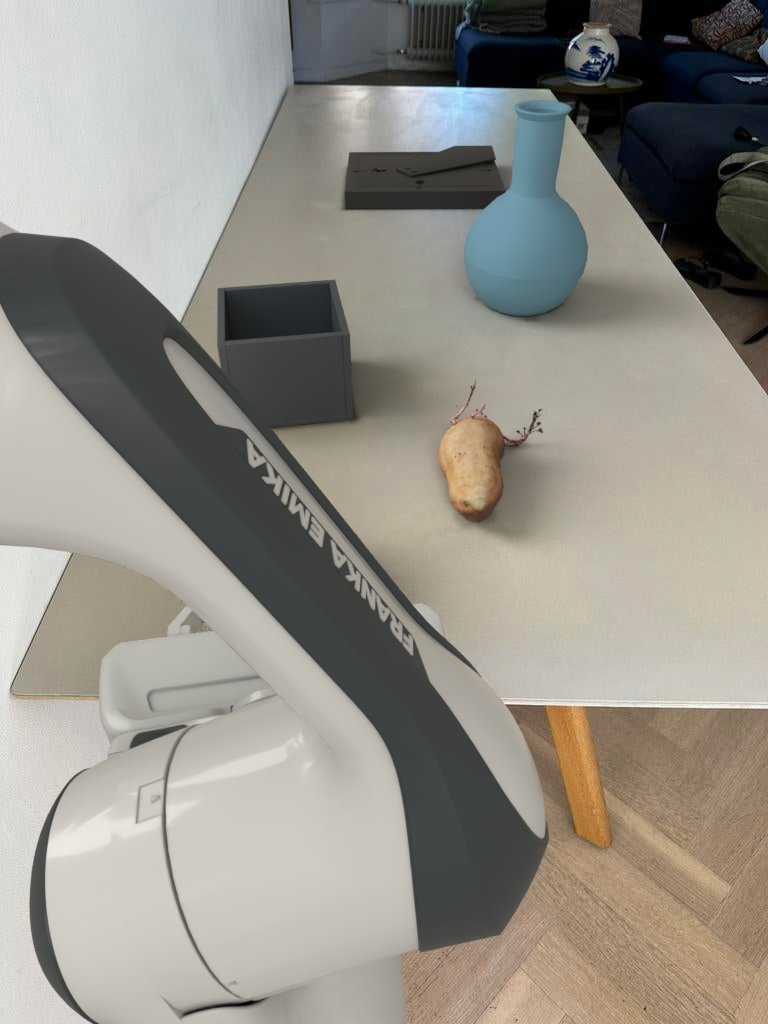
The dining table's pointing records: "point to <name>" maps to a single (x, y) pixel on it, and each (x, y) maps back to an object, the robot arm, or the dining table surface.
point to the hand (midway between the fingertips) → (273, 584)
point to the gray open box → (287, 350)
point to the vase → (528, 224)
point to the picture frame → (423, 179)
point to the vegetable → (475, 462)
